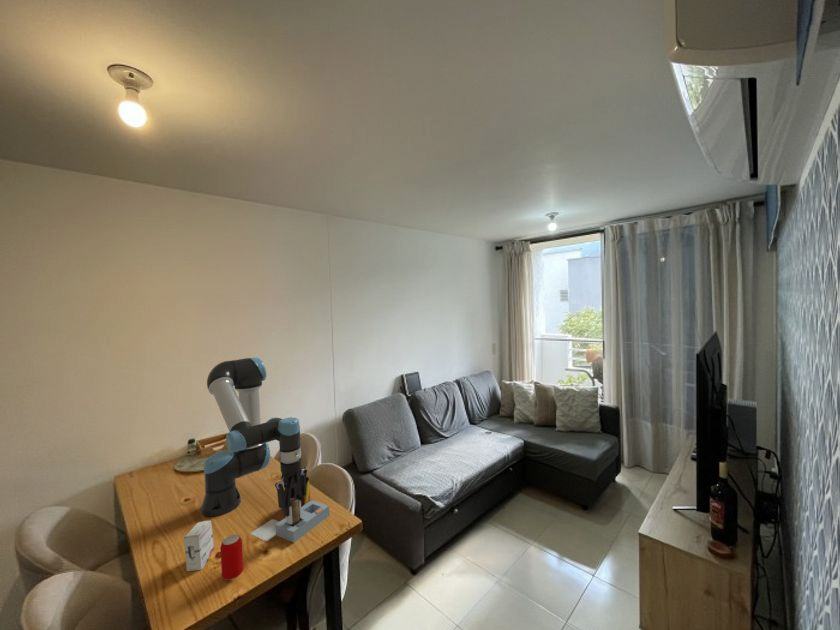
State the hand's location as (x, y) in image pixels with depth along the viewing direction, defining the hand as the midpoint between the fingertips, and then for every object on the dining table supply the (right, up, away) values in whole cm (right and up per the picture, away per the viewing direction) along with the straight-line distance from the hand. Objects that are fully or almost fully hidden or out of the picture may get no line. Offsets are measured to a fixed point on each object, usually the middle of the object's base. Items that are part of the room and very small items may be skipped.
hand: (294, 519), depth 129 cm
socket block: (+2, -5, +4) cm, 7 cm away
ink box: (-28, -7, -12) cm, 31 cm away
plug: (0, -5, 0) cm, 4 cm away
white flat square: (-10, -6, +2) cm, 12 cm away
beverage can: (-13, -7, -19) cm, 24 cm away
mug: (-3, -6, +15) cm, 16 cm away
